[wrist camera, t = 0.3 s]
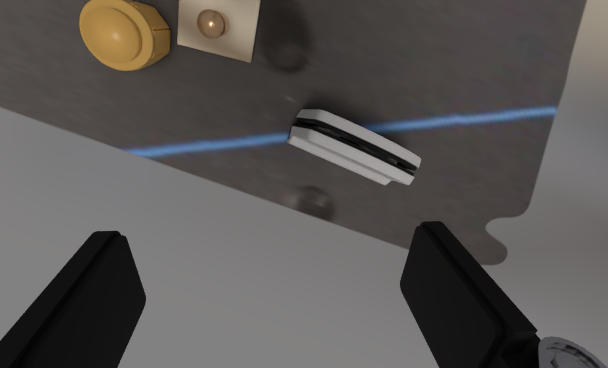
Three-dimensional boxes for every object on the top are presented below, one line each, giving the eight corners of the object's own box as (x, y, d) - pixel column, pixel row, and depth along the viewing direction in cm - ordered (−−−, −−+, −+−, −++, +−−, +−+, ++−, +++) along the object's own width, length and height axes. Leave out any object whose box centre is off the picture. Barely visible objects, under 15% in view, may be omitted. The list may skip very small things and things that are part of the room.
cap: (110, -7, 29) (66, -15, 23) (171, 10, 30) (146, 7, 24) (113, 55, 32) (75, 63, 26) (170, 68, 33) (147, 79, 27)
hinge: (283, 141, 39) (299, 146, 30) (297, 109, 39) (317, 103, 29) (381, 184, 44) (422, 200, 34) (394, 155, 43) (439, 164, 34)
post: (207, 7, 30) (197, 5, 26) (230, 14, 30) (224, 13, 26) (205, 33, 31) (195, 34, 27) (227, 39, 31) (221, 41, 27)
